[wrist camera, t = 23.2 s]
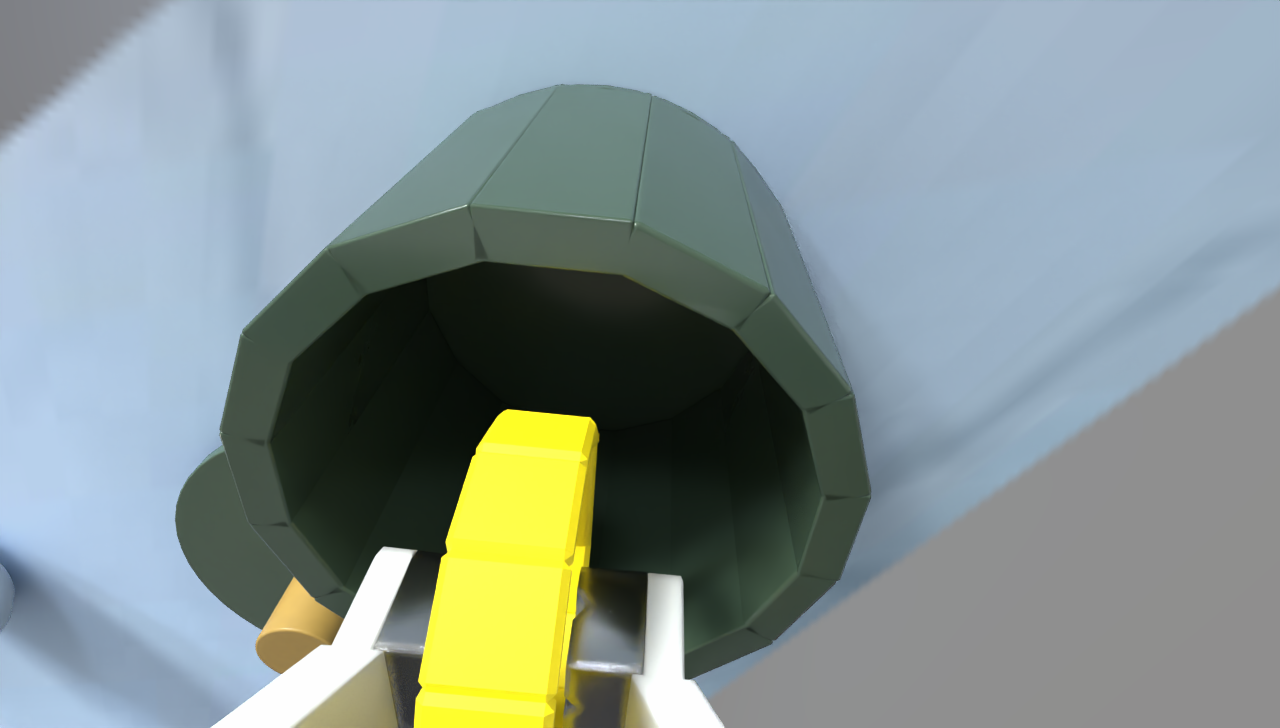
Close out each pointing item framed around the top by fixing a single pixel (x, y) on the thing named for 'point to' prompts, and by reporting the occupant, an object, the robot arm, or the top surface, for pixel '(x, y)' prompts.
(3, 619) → the plastic bottle
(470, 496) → the watch
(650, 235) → the tin
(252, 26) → the top surface
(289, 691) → the robot arm
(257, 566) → the tin lid
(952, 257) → the top surface
